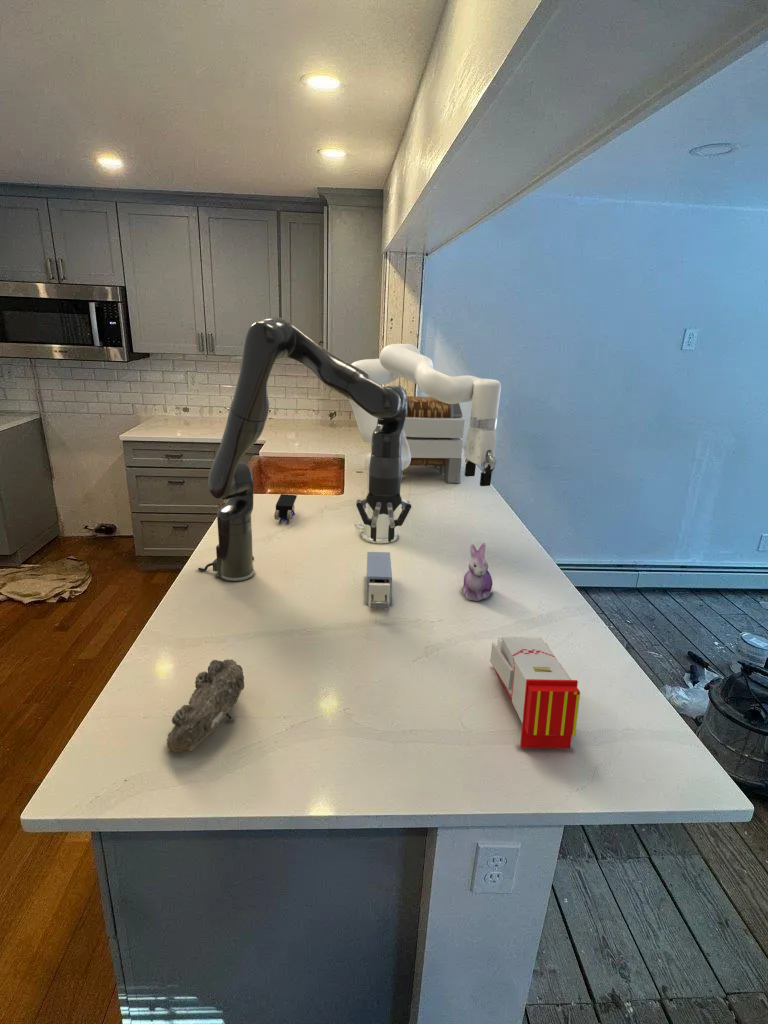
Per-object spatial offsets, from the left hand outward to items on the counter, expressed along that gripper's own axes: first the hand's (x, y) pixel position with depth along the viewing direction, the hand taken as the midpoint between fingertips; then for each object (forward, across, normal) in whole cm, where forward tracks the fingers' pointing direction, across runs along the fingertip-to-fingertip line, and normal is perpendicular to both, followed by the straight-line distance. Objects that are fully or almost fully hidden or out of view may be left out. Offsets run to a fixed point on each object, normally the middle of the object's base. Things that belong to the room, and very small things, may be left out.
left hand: (382, 540), depth 139 cm
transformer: (+21, +22, +136) cm, 139 cm away
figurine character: (+21, -33, +68) cm, 78 cm away
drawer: (+20, 0, +7) cm, 22 cm away
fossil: (+21, -32, -39) cm, 55 cm away
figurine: (+21, +28, +13) cm, 37 cm away
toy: (+21, +30, -33) cm, 49 cm away
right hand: (-7, +28, +32) cm, 43 cm away
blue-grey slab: (+21, 0, +14) cm, 25 cm away
